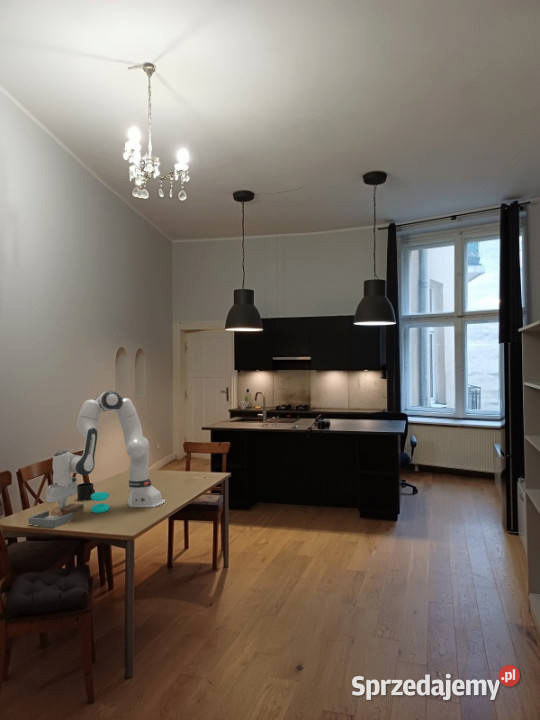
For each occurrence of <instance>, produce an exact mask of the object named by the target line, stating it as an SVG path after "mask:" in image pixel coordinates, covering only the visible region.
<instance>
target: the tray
mask: <svg viewBox="0 0 540 720" xmlns="http://www.w3.org/2000/svg"><path fill="white" fill-rule="evenodd" d="M48 516H50V510H45V511H43V512H40V513H38V514H35V515H33V516H29V517H28V525H29V524H32V525H38V526H43V527H42V528H48V527H49V529H56V528H57V526H58V527H60V526H62V524H63V525H64V523H65V524H67V523H69V522H72V521H73V520H74V517H73V513H69V514H67V515H64V516H62V517H59V518H57V519H54V520H51V519H45V517H48ZM71 520H72V521H71ZM68 521H69V522H68ZM66 522H67V523H66ZM59 525H60V526H59ZM38 526H37V527H38ZM55 527H56V528H55Z"/></svg>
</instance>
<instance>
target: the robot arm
mask: <svg viewBox="0 0 540 720" xmlns="http://www.w3.org/2000/svg"><path fill="white" fill-rule="evenodd" d="M112 410H113V411H114V412H115V413H116V414H117V418H118V421H119V424H120V428H121V430H122V434H123V438H124V443H125V448H126V452H127V455H128V456H129V458H130V460H129V466H128V467H129V469H128V470H129V471H128V472H129V473H128V474H129V480H128V487H129V488H128V489H129V494H128V500H127V502H126V503H127V505H128V506H129V507H130V508H157V507H159V505H160V506H162V505H164V504H165V503H166V502H165V501H166V499H162V493H161V492H160V490H158V489H157V488H156V487H154V485H152V483H153V480H151V479H150V478H149V477H150V475H149V459H150V442H149V440H148V439H147V438H146V437H144V435H143V430H142V424H141V421H140V417H139V415H138V411H137V410H136V407H135V405H134V403H133V402H132V400H131V399H130V398H128V397H125V398H124V397H122V396H121V395H120V394H119V393H117V392H116V391H113V390H109V391H104V392H102V393H101V394H99V395H98V396H97V397H96V398H95V399H88V400H85V401H84V402H83V404H82V406H81V408H80V411H79V414H78V416H77V421H76V428H77V430H78V432H79V433H80V434H81V435H82V436H83V437H84V445H83V452H82V454H81V455H80V454H79V455H77V454H73V453H71V452H69V451H67V450H61V451H57V452H56V453H54V455H53V457H52V471H53V474H52V484H49V486H48V487H47V490H46V498H45V500H46V502H47V503H50V504H51V503H55V502H57V503H58V506H59V507H64V506H65V504H66V503H67V500H68V498H69V497H72V496H75V495H77V485H78V484H77V481H78V479H77V477H73V476H71V473H75V474H79V475H80V476H89V475H90V474H92V472H93V471H94V469H95V465H96V464H95V455H96V448H97V443H98V422H99V419H100V415H101V414H102V412H108V411H109V412H110V411H112ZM163 503H164V504H163ZM161 504H162V505H161ZM156 506H157V507H156Z"/></svg>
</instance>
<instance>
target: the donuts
mask: <svg viewBox="0 0 540 720" xmlns="http://www.w3.org/2000/svg"><path fill="white" fill-rule="evenodd" d="M109 496H110V493H109V492H106V491H98V492H97V491H96V492H95V493H94V492H93V494H92V495H91V500H92V501H94V502H100V501H101V502H102V501H106V500H107V499H109ZM109 510H110V505H109V504H107V503H96V504H94V505H92V506H91V508H90V511H91V512H92V513H95V514H101V513H105V512H107V511H109Z"/></svg>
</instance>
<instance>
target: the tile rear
mask: <svg viewBox="0 0 540 720" xmlns="http://www.w3.org/2000/svg"><path fill="white" fill-rule="evenodd" d="M55 508H56V507H54V508H52V509H51V510H49V513H50V514H51V515H59V517H62V516H64V515H63V513H62V511H61V509H55Z"/></svg>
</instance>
